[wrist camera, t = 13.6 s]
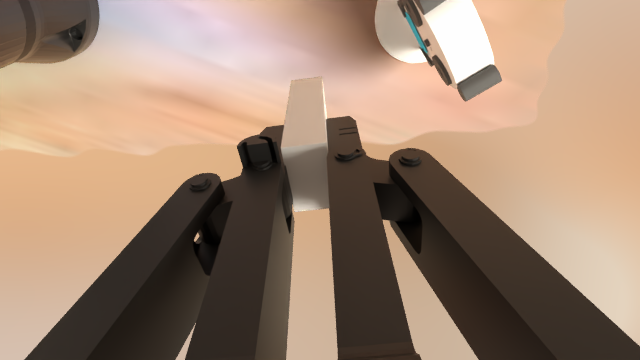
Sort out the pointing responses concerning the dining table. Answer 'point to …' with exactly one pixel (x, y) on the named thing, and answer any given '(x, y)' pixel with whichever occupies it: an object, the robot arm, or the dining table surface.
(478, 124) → the dining table surface
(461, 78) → the white piece
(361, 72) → the dining table surface
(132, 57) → the dining table surface
